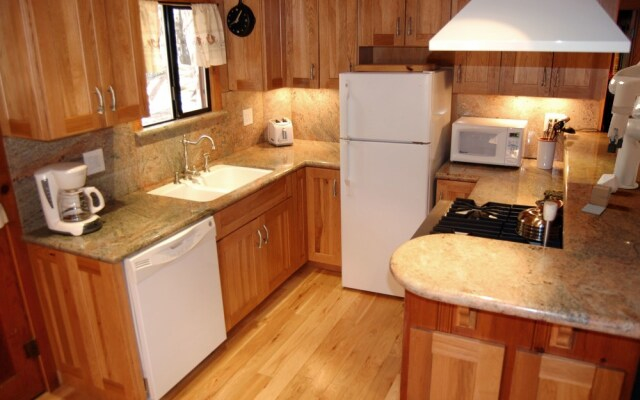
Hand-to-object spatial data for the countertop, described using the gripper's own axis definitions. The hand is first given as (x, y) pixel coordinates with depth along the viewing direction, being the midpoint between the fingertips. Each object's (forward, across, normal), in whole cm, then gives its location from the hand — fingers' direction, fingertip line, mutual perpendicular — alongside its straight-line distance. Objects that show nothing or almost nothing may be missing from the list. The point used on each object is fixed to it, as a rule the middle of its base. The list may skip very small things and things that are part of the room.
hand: (614, 150), depth 216 cm
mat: (+22, +17, 0) cm, 28 cm away
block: (+22, +8, 0) cm, 24 cm away
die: (+23, -12, -2) cm, 25 cm away
